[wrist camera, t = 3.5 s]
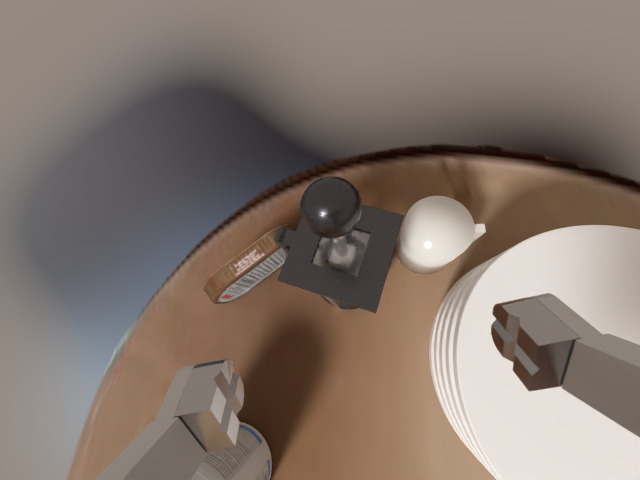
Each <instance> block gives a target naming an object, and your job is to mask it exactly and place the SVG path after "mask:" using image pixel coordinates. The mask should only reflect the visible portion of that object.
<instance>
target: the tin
mask: <svg viewBox="0 0 640 480" xmlns="http://www.w3.org/2000/svg"><path fill="white" fill-rule="evenodd" d="M279 227H282V228H285V229H289V230H292V231H295V232H296V230H297V227H296V225H295V224H293V223H287V224H283V225H280V226H278V227H276V228H274V229H272V230H270V231H269V232H267V233H266V234H264V235H263V236H262V237H260V238H259V239H258V240H256V241H255V242H254V243H252V244H251V245H250V246H248V247H247V248H245V249H244V250H243V251H242V252H240V253H239V254H237V255H236V256H235V257H233V258H232V259H231V260H229V261H228V262H227V263H225V264H224V265H222V266H221V267H220V268H218V269H217V270H216V271H215V272H213V273H212V274H211V275H210V276H209V277H208V279H207V280H206V281H205V283H204V285H203V289H204V291H205V292H206V293H207V294H208V296H209V298H210V299H211V301H212V302H213V303H215V304H224V303H228V302H231V301H233V300H235V299H237V298H239V297H241V296H242V295H244V294H245V293H247V292H248V291H250V290H251V289H252V288H254V287H255V286H256V285H258V284H259V283H261V282H262V281H263V280H265V279H266V278H267V277H269V276H270V275H271V274H273V273H274V272H275V271H276V270H278V269H279V268H280V267H282V266H283V264H284V262H285V259H286V256H287V253H286V252H285V251H284V250H283V249H282V248H281V247H280V246H279V245H278V244H277V243H276V242H275V241H274V238H275V236H276V233H277V231H278V228H279Z"/></svg>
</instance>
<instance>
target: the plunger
mask: <svg viewBox="0 0 640 480" xmlns="http://www.w3.org/2000/svg"><path fill="white" fill-rule="evenodd" d="M300 212H301V217H302V219H303V222H304V223H305V225H306V226H307V228H308V229H309V230H310V231H311V232H313V233H314V234H316V235H318V236H320V237H322V238H321V241H320V243H319V246H318V249H317V252H316V255H315V258H314V260H313V264H316V265H319V266H322V267H326V268H329V269H332V270H335V271H338V272H342V273H345V274H348V275H351V276H354V277H357V276H358V273H359V269H360V266H361V263H362V260H363V256H364V253H365V250H366V247H367V244H368V240H369V237H370V234H367V233H363V232H360V231H356V230H353V229H354V228H355V227H356V225H357V224H358V222H359V220H360V217H361V214H362V202H361V198H360V195H359V193H358V191H357V190H356V188H355V187H354V186H353V185H352V184H351V183H350V182H348V181H347V180H345V179H342V178H339V177H334V176H329V177H323V178H320V179H318V180H316V181H314V182H313V183H312V184H310V185H309V186H308V188H307V189H306V190H305V192H304V194H303V196H302V199H301V203H300Z"/></svg>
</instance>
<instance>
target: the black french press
mask: <svg viewBox="0 0 640 480" xmlns="http://www.w3.org/2000/svg"><path fill="white" fill-rule="evenodd" d="M403 216H404V215H401V214H397V213H393V212H389V211H385V210H381V209H377V208H373V207H369V206H365V205H362V214H361V217H360V220H359V222H358V224H357V225H356V227H355V228H354V229H353V230H356V231H360V232H363V233H367V234H370V237H369V240H368V244H367V247H366V250H365V253H364V256H363V260H362V263H361V266H360V269H359V273H358V276H357V277H354V276H351V275H348V274H345V273H342V272H338V271H335V270H332V269H329V268H326V267H322V266H319V265H316V264H313V260H314V258H315V255H316V252H317V249H318V246H319V243H320V241H321V238H322V237H320V236H318V235H316V234H314V233H313V232H311V231H310V230H309V229H308V228H307V226H306V225H305V223H304V222H303V219H302V217H301V219H300V222H299V225H298V227H297V230H296V232H295V231H292V230H289V229H285V228H282V227H279V228H278V231H277V233H276V236H275V238H274V241H275V242H276V243H277V244H278V245H279V246H280V247H281V248H282V249H283V250H284V251H285V252H286V253H287V256H286V259H285V262H284V264H283V267H282V270H281V272H280V275H279V277H278V280H279V281H281V282H284V283H287V284H290V285H293V286H296V287H299V288H302V289H305V290H308V291H311V292H314V293H317V294H320V295H321V296H322V297H323V298H324V299H325V300H326V301H327V302H328V303H330V304H331V305H333V306H335V307H338V308H341V309H356V308H362V309H364V310H367V311H370V312H373V313H376V311H377V308H378V304H379V301H380V297H381V294H382V290H383V287H384V283H385V280H386V276H387V273H388V269H389V266H390V262H391V259H392V255H393V251H394V248H395V244H396V241H397V237H398V234H399V230H400V227H401V223H402V220H403Z"/></svg>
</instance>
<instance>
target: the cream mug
mask: <svg viewBox="0 0 640 480" xmlns="http://www.w3.org/2000/svg"><path fill="white" fill-rule="evenodd" d="M485 232H486V230H485V225H484V224H474V221H473V218H472V216H471V214H470V212H469V211H468V210H467V209H466V208H465V207H464V206H463V205H462V204H461V203H459V202H458V201H456V200H454V199H452V198H449V197H445V196H430V197H426V198H423V199H421V200H419V201H417V202H416V203H415V204H414V205H412V207H411V208H410V209H409V211H408V212H407V214H406V217H405V219H404V222H403V225H402V227H401V230H400V232H399V235H398V238H397V241H396V253H397V256H398V258H399V260H400V262H401V263H402V264H403V265H404V266H405V267H406V268H408V269H409V270H411V271H413V272H415V273H419V274H431V273H434V272H437V271H439V270H441V269H442V268H443V267H445V266H446V265H447V264H448V263H450V262H451V261H452V260H454V259H455V258H456V257H458V256H459V255H460V254H461V253H463V252H464V251H465V250H466V249H467V248H468V247H469V246H470V244H471V243H472V242H474V241H475V240H476V239H477V238H479V237H480V236H481V235H482V234H484V233H485Z"/></svg>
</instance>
